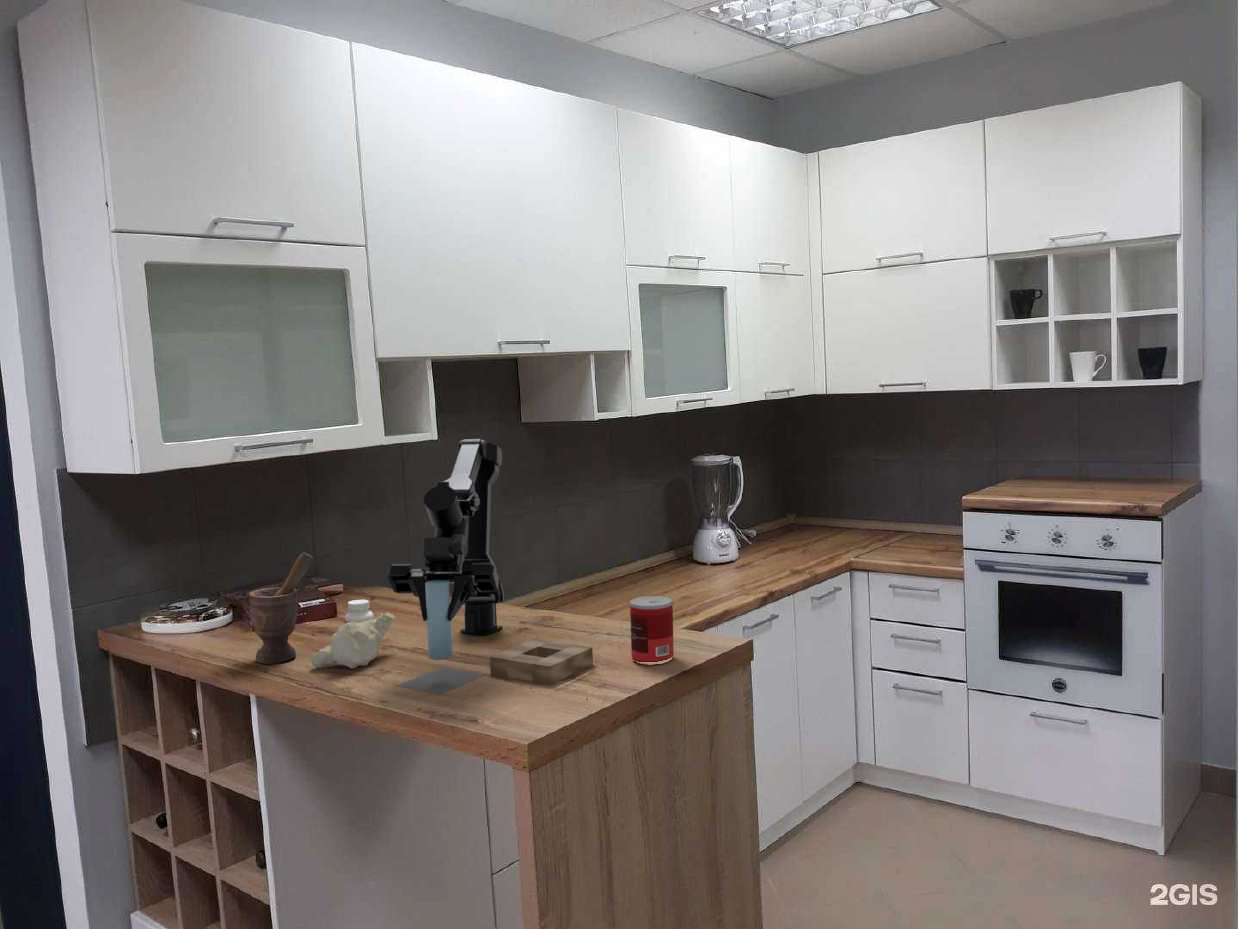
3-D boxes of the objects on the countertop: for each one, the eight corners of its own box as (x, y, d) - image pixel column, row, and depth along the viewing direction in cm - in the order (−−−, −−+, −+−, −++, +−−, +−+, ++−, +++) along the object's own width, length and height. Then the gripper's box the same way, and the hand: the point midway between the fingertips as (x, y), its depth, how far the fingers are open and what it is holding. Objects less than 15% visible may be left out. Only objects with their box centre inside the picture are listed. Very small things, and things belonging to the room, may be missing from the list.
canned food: (678, 655, 185) (677, 596, 184) (666, 667, 178) (665, 606, 177) (639, 652, 188) (638, 595, 187) (625, 664, 180) (624, 604, 179)
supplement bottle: (367, 655, 191) (365, 605, 190) (341, 654, 192) (339, 604, 191) (379, 647, 196) (377, 598, 196) (354, 646, 198) (352, 598, 197)
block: (534, 657, 186) (534, 639, 186) (593, 666, 180) (592, 647, 179) (490, 676, 175) (489, 656, 175) (550, 686, 169) (550, 666, 168)
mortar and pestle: (302, 647, 198) (296, 547, 196) (323, 655, 192) (317, 552, 190) (245, 659, 190) (239, 556, 188) (265, 668, 184) (259, 561, 182)
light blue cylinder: (439, 652, 175) (436, 579, 174) (457, 655, 173) (453, 581, 172) (423, 658, 172) (420, 583, 170) (441, 661, 170) (437, 586, 168)
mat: (443, 669, 181) (443, 667, 180) (486, 676, 175) (486, 674, 175) (396, 687, 170) (395, 685, 170) (440, 696, 165) (440, 694, 165)
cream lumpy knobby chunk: (320, 691, 176) (385, 635, 177) (297, 659, 178) (361, 603, 179) (355, 691, 191) (415, 639, 192) (334, 661, 193) (393, 609, 193)
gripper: (387, 519, 175) (371, 595, 165) (492, 517, 173) (482, 594, 163) (402, 555, 183) (387, 629, 173) (502, 553, 182) (493, 628, 172)
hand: (436, 619), depth 170 cm, fingers closed on light blue cylinder, 4 cm apart
